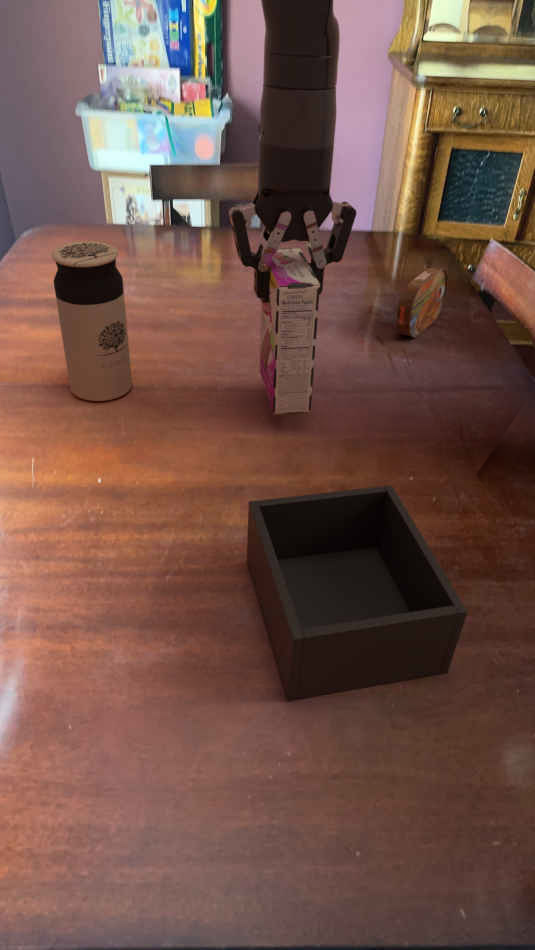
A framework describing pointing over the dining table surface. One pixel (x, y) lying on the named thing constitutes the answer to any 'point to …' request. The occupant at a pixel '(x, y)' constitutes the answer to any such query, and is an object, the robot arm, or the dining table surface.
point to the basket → (349, 591)
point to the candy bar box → (289, 332)
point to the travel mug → (93, 320)
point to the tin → (421, 301)
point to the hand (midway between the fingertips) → (287, 298)
